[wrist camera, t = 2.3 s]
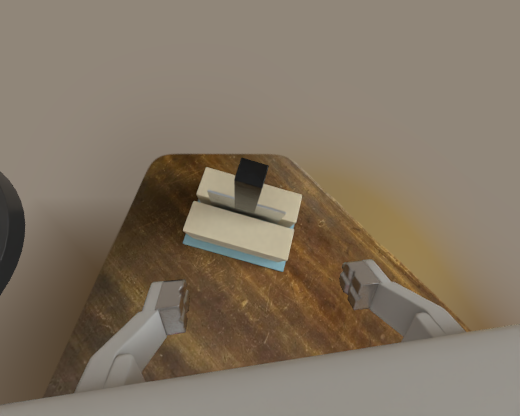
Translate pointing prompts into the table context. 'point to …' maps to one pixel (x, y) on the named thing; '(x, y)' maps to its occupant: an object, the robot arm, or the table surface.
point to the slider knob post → (247, 193)
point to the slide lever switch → (241, 224)
